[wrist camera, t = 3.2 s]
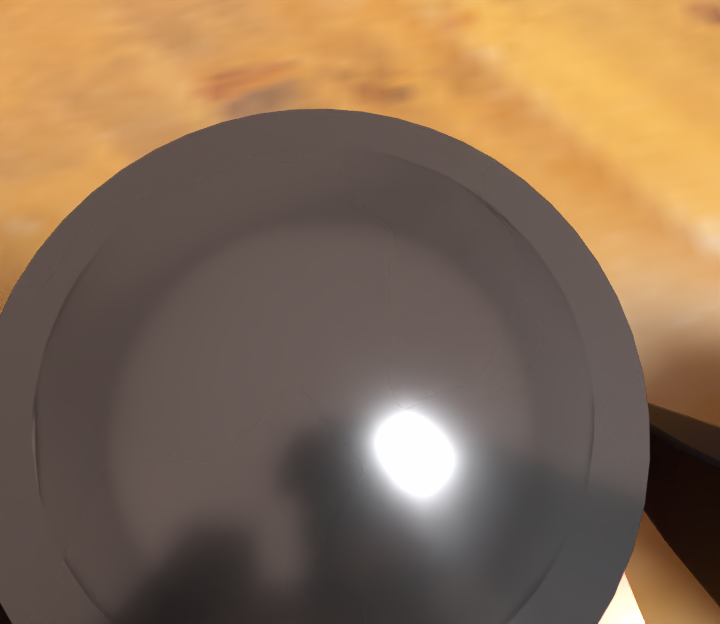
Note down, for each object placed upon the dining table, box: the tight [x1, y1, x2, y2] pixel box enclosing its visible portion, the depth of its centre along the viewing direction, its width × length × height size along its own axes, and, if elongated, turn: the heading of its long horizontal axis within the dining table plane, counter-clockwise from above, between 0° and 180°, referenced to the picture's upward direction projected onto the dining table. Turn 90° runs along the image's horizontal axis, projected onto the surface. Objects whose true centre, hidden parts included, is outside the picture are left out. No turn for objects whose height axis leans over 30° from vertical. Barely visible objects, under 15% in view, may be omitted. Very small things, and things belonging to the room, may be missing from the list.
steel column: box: [0, 109, 650, 624], centre depth 10 cm, size 5×5×13 cm
